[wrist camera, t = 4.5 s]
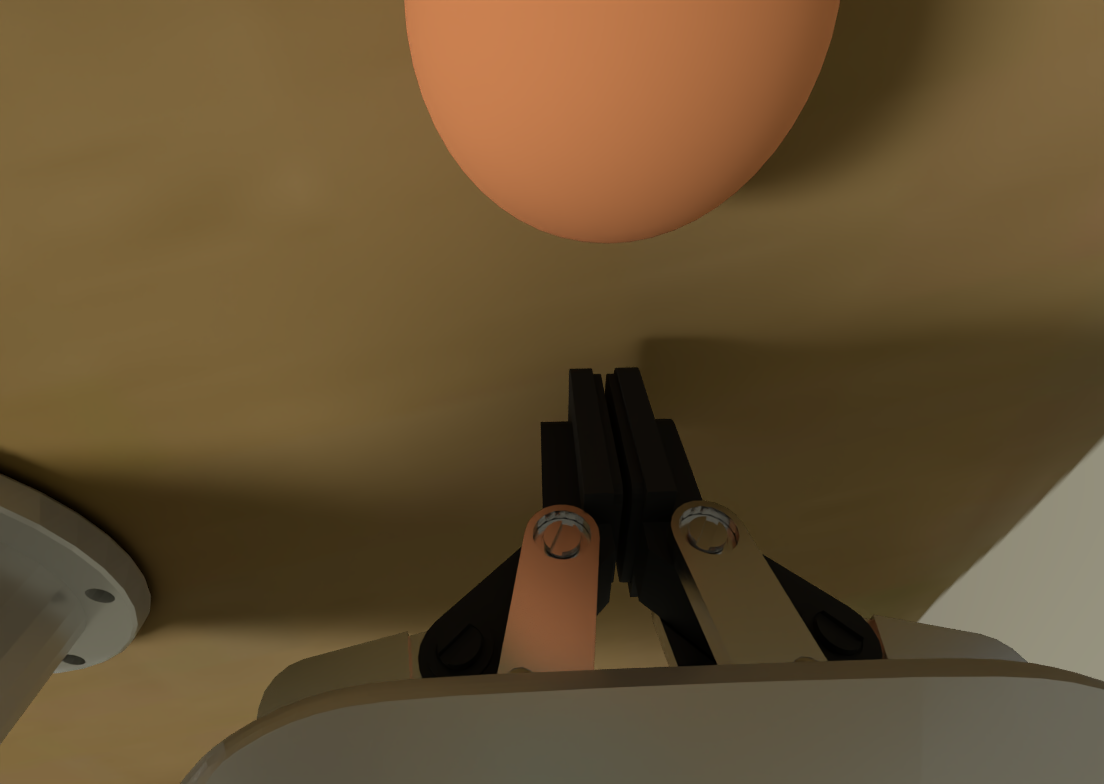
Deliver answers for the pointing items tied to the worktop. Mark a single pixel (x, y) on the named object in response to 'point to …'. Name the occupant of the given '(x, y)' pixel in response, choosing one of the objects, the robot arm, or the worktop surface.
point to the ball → (615, 102)
